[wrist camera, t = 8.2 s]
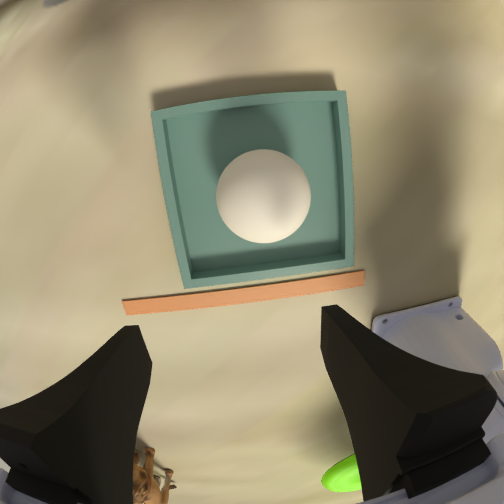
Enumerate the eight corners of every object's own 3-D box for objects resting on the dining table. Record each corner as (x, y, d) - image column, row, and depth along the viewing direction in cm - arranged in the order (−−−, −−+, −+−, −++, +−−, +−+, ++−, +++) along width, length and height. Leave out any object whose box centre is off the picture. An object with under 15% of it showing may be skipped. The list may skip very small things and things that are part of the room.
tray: (338, 93, 17) (345, 90, 15) (346, 257, 21) (353, 266, 20) (156, 112, 16) (150, 111, 15) (187, 279, 21) (184, 288, 19)
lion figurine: (103, 432, 28) (85, 493, 20) (138, 431, 28) (124, 498, 19) (161, 483, 34) (155, 532, 25) (193, 482, 33) (190, 534, 25)
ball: (296, 144, 17) (318, 147, 13) (302, 222, 19) (324, 251, 15) (212, 152, 17) (206, 158, 13) (223, 231, 19) (221, 264, 15)
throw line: (364, 270, 21) (364, 270, 21) (363, 284, 22) (363, 285, 22) (122, 301, 21) (121, 301, 21) (127, 314, 22) (126, 315, 22)
